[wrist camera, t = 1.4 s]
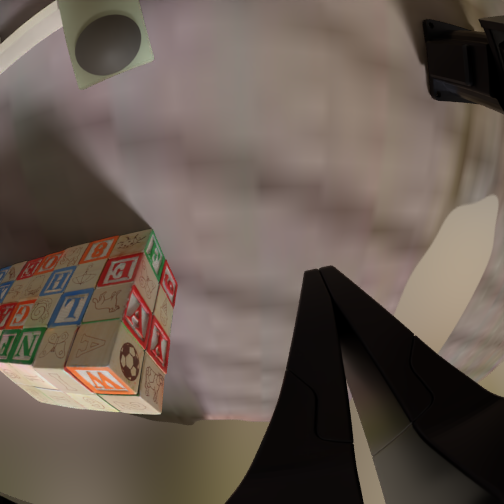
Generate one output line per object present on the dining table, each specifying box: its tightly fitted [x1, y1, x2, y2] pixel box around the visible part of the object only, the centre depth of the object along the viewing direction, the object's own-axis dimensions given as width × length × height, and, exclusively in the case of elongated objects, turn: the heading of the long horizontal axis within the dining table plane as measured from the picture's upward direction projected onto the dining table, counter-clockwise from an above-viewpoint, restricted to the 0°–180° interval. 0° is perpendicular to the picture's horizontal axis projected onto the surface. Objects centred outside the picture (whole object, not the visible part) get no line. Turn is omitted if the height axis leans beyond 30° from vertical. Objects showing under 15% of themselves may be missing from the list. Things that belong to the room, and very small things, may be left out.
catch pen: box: [0, 0, 63, 75], centre depth 6 cm, size 8×9×3 cm
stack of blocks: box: [0, 229, 177, 414], centre depth 18 cm, size 21×6×12 cm, turn 100°
